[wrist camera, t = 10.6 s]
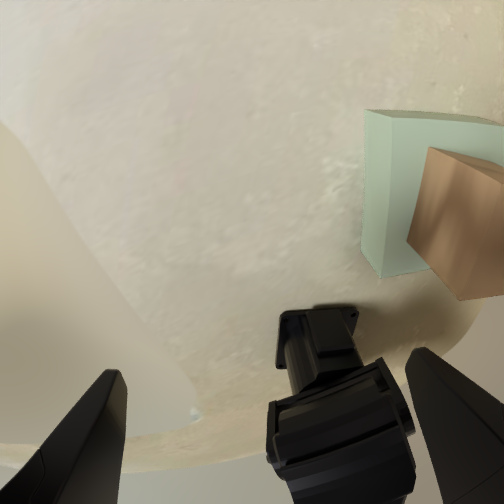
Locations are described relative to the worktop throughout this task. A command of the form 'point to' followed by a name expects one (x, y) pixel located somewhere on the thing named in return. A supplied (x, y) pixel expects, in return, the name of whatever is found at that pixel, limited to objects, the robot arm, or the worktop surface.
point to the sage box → (410, 175)
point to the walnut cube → (461, 223)
